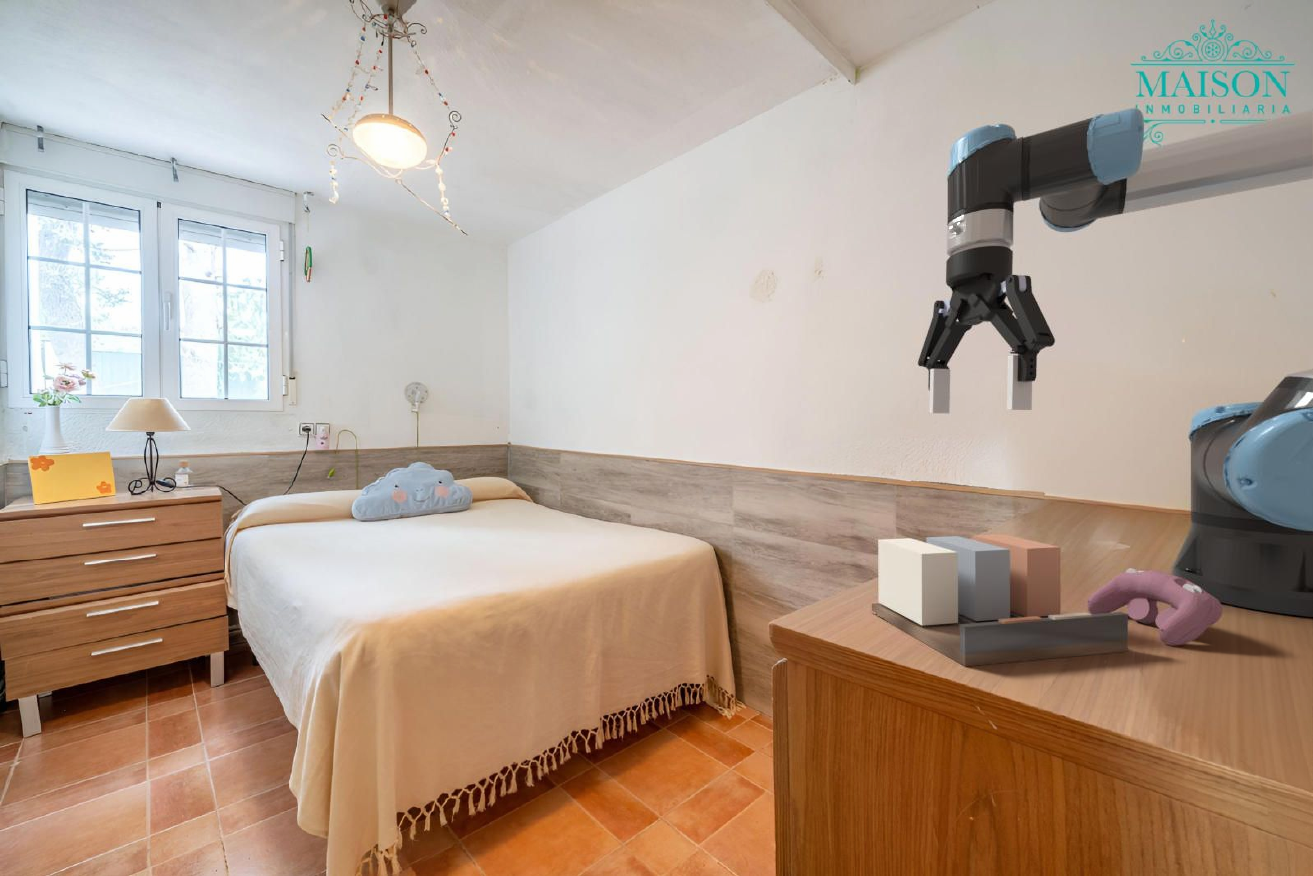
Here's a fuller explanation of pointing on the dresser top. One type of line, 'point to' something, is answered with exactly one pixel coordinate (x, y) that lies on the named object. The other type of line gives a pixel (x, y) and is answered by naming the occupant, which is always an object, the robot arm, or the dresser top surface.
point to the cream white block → (918, 580)
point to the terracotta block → (1031, 575)
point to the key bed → (1018, 636)
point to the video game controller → (1146, 588)
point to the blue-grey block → (980, 577)
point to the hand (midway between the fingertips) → (975, 412)
